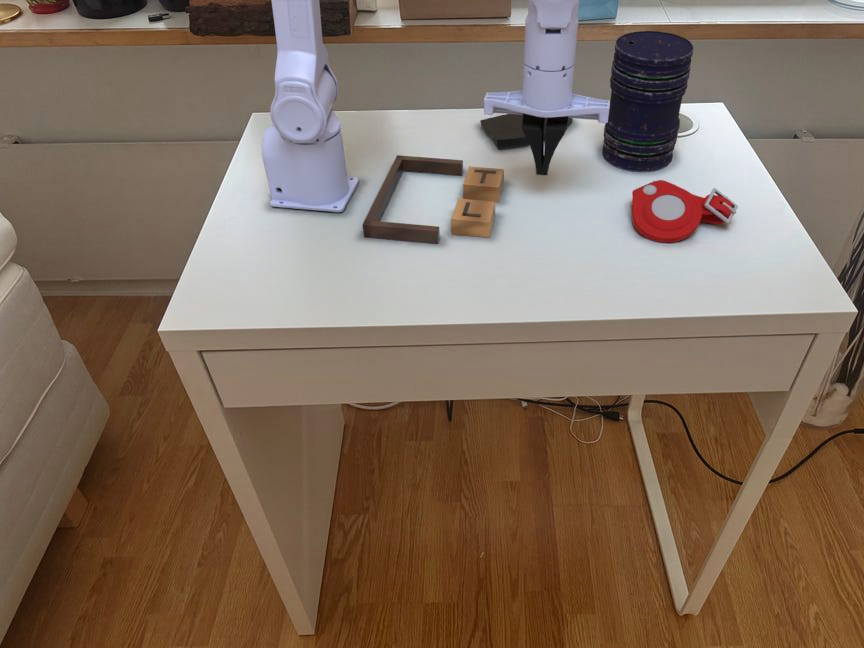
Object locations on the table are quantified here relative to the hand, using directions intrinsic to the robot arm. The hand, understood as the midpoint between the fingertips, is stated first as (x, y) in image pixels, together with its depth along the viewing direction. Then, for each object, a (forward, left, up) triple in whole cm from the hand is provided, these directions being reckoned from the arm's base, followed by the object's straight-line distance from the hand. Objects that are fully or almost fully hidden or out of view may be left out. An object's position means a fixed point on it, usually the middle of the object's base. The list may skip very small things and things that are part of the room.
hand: (542, 171), depth 92 cm
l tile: (-7, -8, -4) cm, 11 cm away
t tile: (-7, 0, -4) cm, 8 cm away
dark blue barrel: (+12, +13, -4) cm, 18 cm away
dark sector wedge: (-4, +17, -4) cm, 18 cm away
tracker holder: (+17, -4, -4) cm, 18 cm away
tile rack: (-15, -4, -4) cm, 16 cm away
